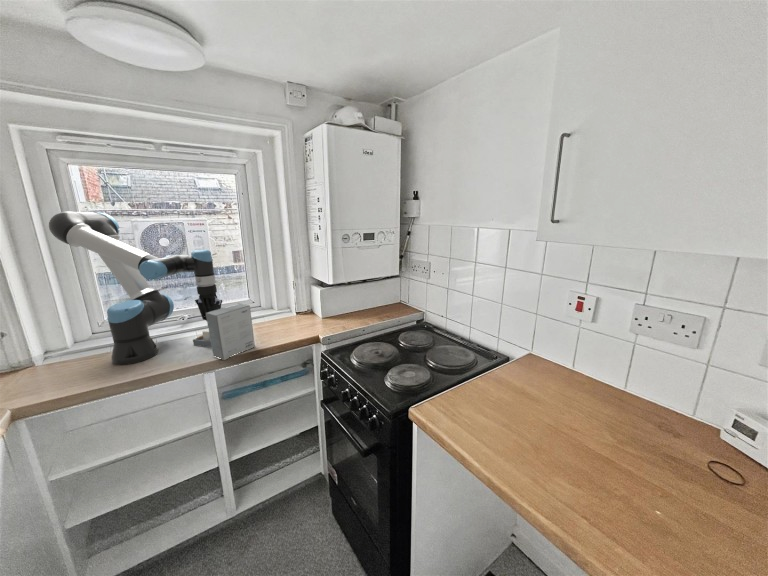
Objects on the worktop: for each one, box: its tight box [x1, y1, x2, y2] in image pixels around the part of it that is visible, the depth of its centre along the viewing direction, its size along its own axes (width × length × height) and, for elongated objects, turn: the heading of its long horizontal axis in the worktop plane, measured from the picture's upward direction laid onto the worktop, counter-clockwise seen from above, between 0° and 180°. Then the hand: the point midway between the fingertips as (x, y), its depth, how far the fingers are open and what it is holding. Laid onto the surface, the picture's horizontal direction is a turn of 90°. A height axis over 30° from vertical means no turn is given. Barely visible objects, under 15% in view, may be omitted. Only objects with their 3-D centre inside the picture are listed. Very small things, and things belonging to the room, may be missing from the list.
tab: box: [202, 328, 211, 341], centre depth 139 cm, size 4×4×4 cm
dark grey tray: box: [192, 334, 212, 348], centre depth 145 cm, size 13×20×3 cm, turn 166°
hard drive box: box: [206, 302, 256, 361], centre depth 128 cm, size 16×8×20 cm, turn 149°
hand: (213, 334), depth 138 cm, fingers closed
